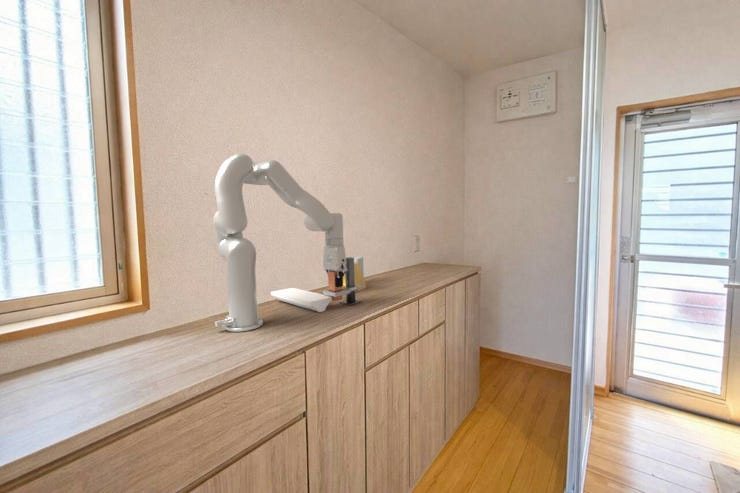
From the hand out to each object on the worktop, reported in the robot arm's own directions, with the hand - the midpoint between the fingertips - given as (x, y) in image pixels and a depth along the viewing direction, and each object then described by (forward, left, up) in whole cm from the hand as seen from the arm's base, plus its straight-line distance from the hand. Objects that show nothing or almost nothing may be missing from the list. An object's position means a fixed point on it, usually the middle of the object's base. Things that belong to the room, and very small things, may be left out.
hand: (335, 285), depth 142 cm
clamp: (+24, +19, -9) cm, 32 cm away
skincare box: (+36, +26, -9) cm, 46 cm away
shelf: (-8, +14, -10) cm, 19 cm away
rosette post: (+5, 0, -9) cm, 10 cm away
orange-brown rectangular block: (0, 0, -6) cm, 6 cm away
